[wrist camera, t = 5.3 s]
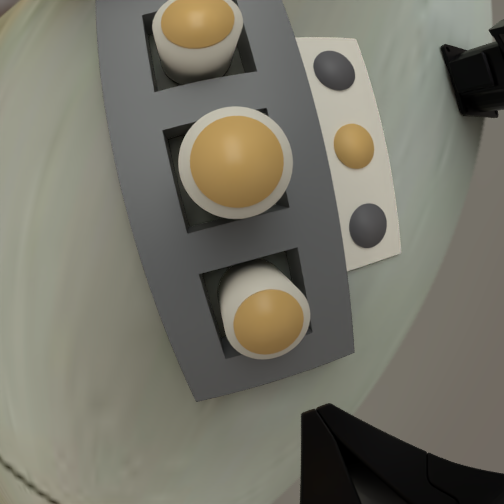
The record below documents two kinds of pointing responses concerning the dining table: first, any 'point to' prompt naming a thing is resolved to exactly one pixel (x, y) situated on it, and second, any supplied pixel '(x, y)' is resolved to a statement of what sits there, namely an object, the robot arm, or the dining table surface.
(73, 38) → the dining table surface
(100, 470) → the dining table surface
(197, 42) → the button
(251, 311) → the button
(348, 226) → the card
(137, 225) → the board
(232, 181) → the button
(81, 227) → the dining table surface
